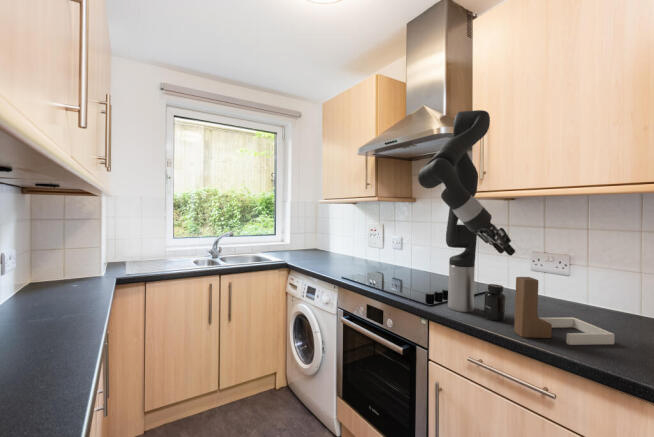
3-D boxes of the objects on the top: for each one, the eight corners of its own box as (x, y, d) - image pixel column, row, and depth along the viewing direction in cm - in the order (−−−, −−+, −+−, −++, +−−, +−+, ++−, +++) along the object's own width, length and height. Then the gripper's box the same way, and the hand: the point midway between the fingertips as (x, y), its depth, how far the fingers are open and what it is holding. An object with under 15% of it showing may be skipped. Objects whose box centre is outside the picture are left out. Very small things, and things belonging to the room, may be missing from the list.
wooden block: (541, 332, 99) (544, 277, 99) (551, 338, 95) (554, 280, 94) (513, 332, 100) (515, 276, 99) (522, 337, 95) (524, 279, 94)
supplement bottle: (481, 318, 112) (482, 285, 111) (486, 313, 117) (487, 282, 116) (502, 323, 107) (504, 288, 107) (507, 318, 112) (508, 285, 112)
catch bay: (534, 326, 105) (534, 317, 105) (573, 326, 106) (573, 317, 105) (569, 344, 91) (569, 334, 91) (614, 344, 92) (614, 334, 91)
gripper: (493, 203, 88) (533, 247, 89) (467, 204, 102) (501, 241, 103) (474, 222, 87) (514, 265, 89) (451, 220, 102) (485, 257, 103)
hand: (507, 252), depth 96 cm, fingers open, 4 cm apart
